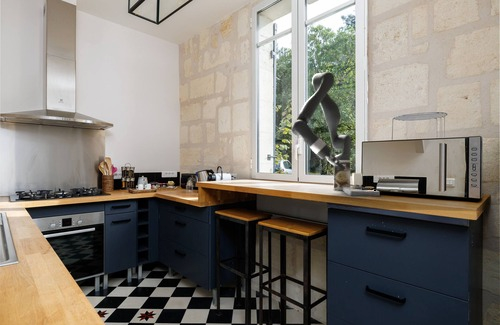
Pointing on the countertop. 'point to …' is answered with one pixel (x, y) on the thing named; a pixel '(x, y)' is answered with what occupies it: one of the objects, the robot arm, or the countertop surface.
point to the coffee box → (342, 177)
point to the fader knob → (357, 180)
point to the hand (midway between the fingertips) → (342, 169)
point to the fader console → (361, 192)
